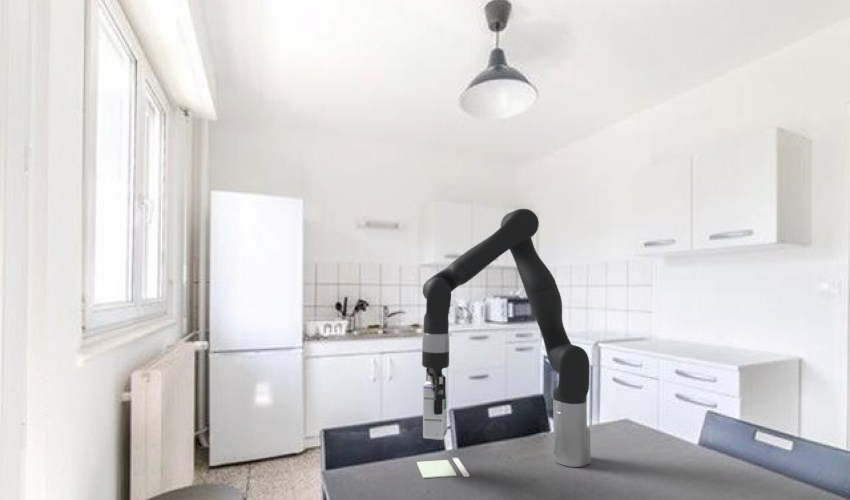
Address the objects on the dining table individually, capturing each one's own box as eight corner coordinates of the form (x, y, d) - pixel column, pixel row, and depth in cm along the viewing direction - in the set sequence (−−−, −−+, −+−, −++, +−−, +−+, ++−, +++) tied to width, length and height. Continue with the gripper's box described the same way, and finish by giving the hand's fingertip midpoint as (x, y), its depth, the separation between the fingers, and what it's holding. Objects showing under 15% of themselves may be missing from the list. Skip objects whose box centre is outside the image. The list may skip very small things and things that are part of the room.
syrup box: (443, 440, 117) (444, 384, 118) (422, 438, 118) (422, 383, 119) (446, 433, 122) (447, 380, 123) (426, 431, 123) (426, 379, 125)
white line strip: (457, 458, 127) (457, 457, 127) (469, 476, 115) (469, 475, 115) (452, 459, 127) (452, 458, 127) (464, 477, 115) (464, 475, 115)
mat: (447, 460, 125) (447, 459, 125) (456, 475, 115) (456, 474, 115) (416, 463, 124) (416, 461, 124) (423, 478, 114) (423, 477, 114)
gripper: (455, 353, 116) (454, 417, 114) (442, 345, 130) (442, 402, 128) (427, 353, 114) (426, 418, 113) (417, 346, 128) (417, 403, 127)
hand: (434, 410), depth 121 cm, fingers closed on syrup box, 7 cm apart
